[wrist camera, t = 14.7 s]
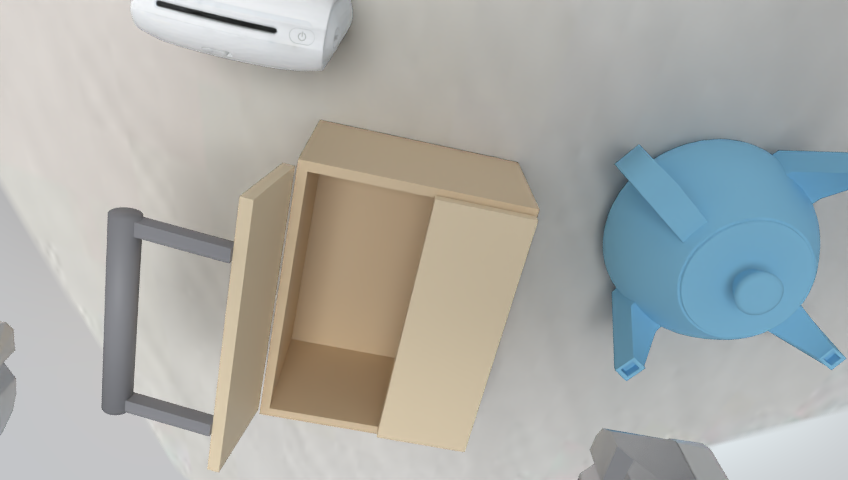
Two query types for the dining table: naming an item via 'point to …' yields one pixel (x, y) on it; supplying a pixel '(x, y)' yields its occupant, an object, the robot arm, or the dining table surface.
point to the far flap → (243, 320)
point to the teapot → (717, 246)
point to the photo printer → (251, 29)
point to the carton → (395, 285)
